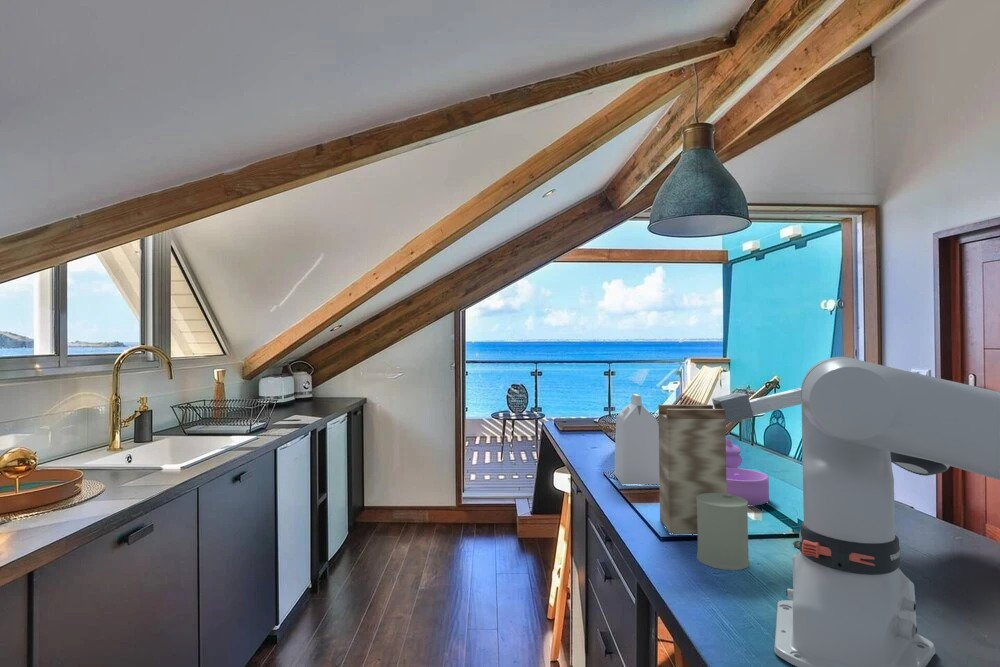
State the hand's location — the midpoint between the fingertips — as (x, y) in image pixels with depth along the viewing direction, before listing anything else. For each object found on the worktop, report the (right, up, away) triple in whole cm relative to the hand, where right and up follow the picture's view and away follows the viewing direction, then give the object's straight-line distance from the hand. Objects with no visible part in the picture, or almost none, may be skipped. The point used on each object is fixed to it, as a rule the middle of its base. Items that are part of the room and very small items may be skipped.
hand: (803, 390), depth 118 cm
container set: (-3, -32, +29) cm, 43 cm away
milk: (-26, -32, +42) cm, 59 cm away
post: (-25, -31, +1) cm, 40 cm away
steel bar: (-7, -4, 0) cm, 8 cm away
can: (-25, -31, -17) cm, 43 cm away
